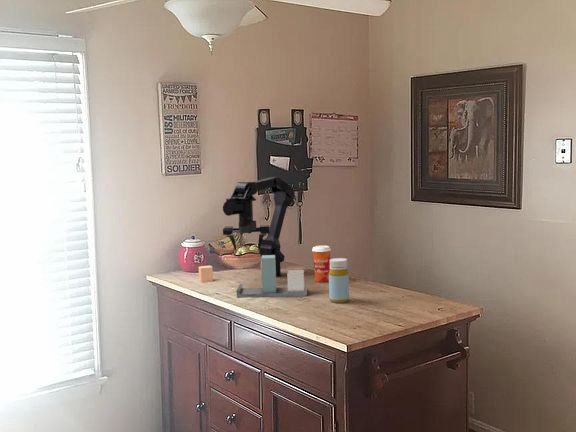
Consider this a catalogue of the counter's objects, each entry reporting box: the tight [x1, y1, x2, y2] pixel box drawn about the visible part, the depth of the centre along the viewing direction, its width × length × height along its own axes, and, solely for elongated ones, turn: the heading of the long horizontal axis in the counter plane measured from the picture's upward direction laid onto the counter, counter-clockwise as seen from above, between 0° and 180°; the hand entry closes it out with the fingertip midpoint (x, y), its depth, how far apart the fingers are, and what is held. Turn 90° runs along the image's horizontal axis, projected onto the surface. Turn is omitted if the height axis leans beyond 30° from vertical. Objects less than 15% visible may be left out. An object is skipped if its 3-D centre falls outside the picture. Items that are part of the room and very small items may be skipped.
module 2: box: [260, 255, 277, 293], centre depth 260 cm, size 6×5×13 cm
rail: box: [236, 269, 308, 298], centre depth 261 cm, size 26×10×8 cm, turn 87°
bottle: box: [328, 257, 350, 304], centre depth 246 cm, size 7×7×15 cm
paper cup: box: [311, 245, 332, 283], centre depth 279 cm, size 8×8×14 cm
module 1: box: [198, 265, 214, 284], centre depth 287 cm, size 5×4×6 cm
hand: (247, 251), depth 280 cm, fingers open, 9 cm apart
